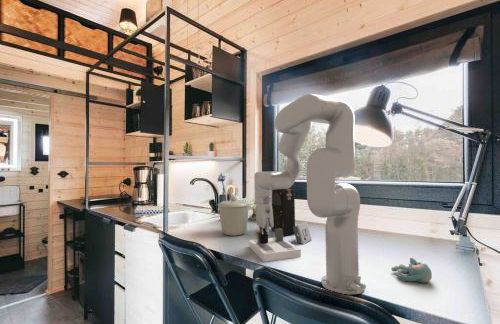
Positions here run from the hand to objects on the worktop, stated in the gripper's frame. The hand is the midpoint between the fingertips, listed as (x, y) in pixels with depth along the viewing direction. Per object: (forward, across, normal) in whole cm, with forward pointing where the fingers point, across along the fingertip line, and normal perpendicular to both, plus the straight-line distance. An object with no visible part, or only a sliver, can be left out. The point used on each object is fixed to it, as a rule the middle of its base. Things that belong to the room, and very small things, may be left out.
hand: (264, 242), depth 112 cm
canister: (+5, +37, +4) cm, 37 cm away
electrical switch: (+5, +10, -24) cm, 26 cm away
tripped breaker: (+1, +4, 0) cm, 4 cm away
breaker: (+1, +5, -9) cm, 10 cm away
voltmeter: (+5, +29, -22) cm, 36 cm away
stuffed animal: (+5, -39, -37) cm, 54 cm away
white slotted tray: (+4, +1, -5) cm, 6 cm away
